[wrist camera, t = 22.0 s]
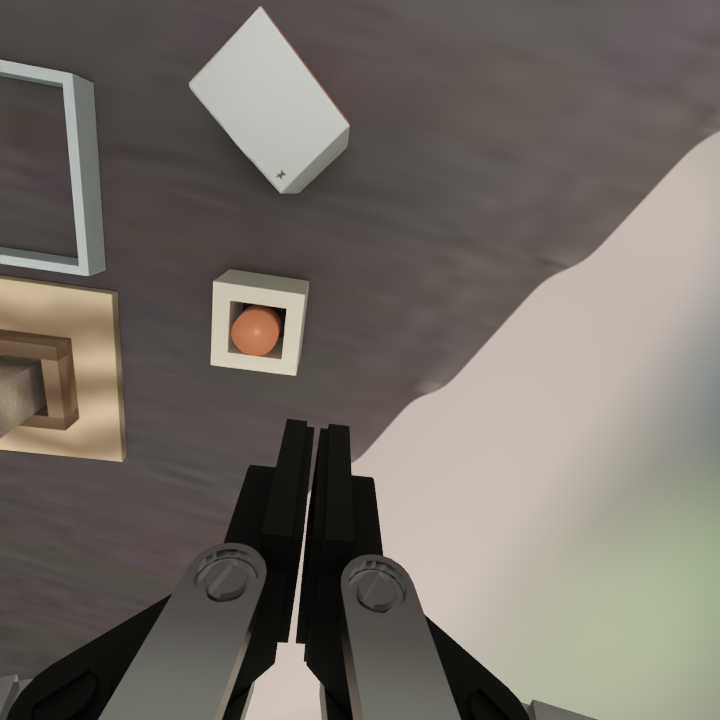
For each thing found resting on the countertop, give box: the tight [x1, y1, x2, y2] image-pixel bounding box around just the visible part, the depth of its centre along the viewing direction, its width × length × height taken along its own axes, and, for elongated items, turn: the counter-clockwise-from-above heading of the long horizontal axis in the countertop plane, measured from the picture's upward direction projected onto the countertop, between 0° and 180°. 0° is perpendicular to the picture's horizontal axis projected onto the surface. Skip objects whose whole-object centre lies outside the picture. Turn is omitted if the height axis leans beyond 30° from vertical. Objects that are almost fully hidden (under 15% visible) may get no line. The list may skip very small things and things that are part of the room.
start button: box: [231, 304, 281, 356], centre depth 38 cm, size 4×4×3 cm
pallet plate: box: [0, 275, 127, 462], centre depth 43 cm, size 20×18×4 cm
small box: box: [189, 6, 350, 194], centre depth 31 cm, size 8×6×13 cm
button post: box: [211, 269, 310, 376], centre depth 41 cm, size 8×8×6 cm
